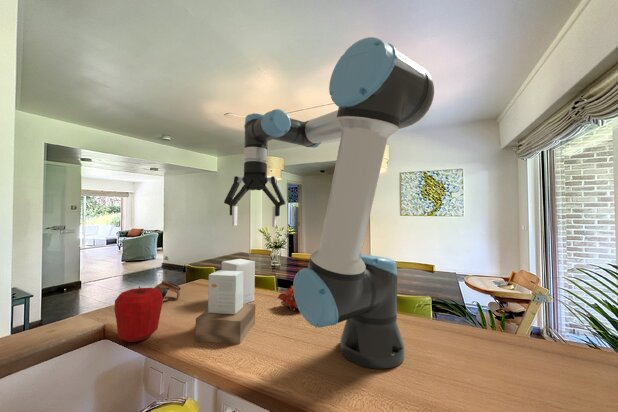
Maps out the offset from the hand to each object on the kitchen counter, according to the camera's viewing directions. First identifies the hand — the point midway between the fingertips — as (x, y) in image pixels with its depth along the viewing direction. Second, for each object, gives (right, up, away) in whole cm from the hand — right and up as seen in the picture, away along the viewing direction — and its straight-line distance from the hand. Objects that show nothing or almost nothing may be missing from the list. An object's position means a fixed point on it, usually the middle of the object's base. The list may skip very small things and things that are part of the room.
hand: (254, 226), depth 85 cm
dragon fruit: (+13, -29, +4) cm, 32 cm away
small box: (-5, -23, -13) cm, 27 cm away
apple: (-26, -28, -18) cm, 43 cm away
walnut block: (-5, -29, -14) cm, 32 cm away
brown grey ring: (-35, -29, +9) cm, 47 cm away
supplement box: (-8, -29, +10) cm, 32 cm away
